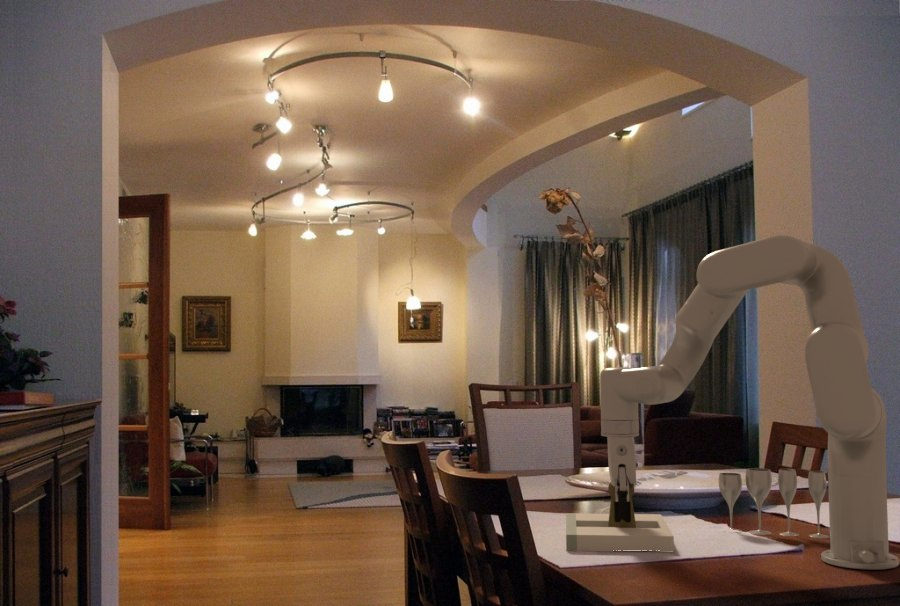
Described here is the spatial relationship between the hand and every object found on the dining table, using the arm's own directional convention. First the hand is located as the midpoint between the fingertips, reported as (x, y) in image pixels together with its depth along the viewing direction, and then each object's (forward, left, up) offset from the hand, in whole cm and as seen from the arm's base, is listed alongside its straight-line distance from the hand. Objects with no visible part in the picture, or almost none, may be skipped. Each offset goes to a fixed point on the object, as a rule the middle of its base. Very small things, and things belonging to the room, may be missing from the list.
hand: (622, 518), depth 188 cm
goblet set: (+8, -34, -4) cm, 36 cm away
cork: (0, 0, -3) cm, 3 cm away
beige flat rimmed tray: (0, +1, -4) cm, 4 cm away
